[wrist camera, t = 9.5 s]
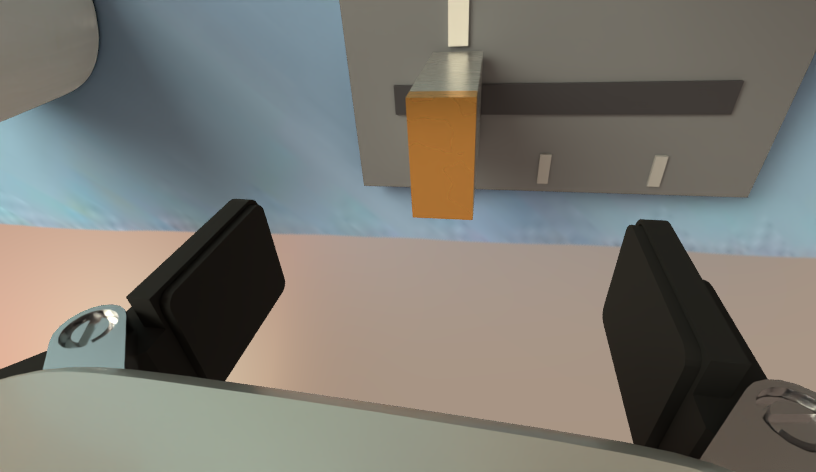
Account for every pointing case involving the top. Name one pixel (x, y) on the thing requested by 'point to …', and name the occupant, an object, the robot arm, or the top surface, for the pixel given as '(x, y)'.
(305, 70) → the top surface
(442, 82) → the fader tab
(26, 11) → the utensil holder
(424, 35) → the console board
